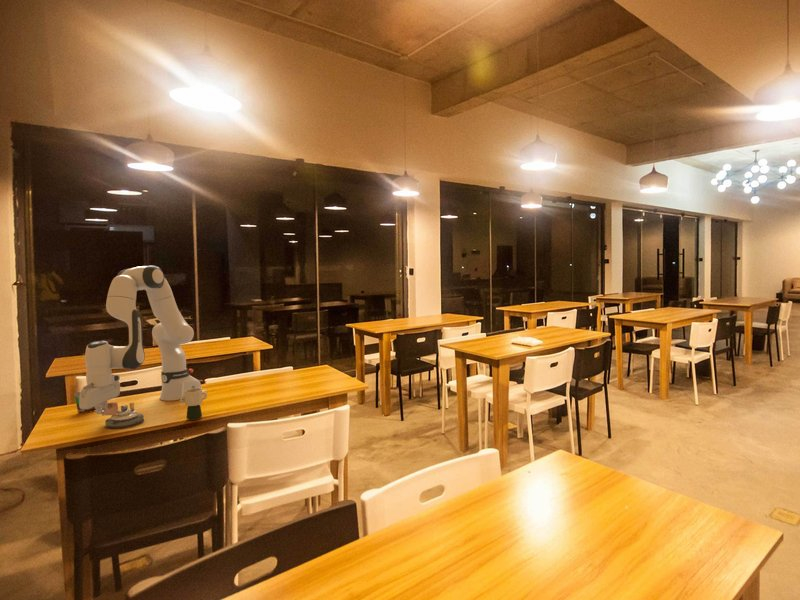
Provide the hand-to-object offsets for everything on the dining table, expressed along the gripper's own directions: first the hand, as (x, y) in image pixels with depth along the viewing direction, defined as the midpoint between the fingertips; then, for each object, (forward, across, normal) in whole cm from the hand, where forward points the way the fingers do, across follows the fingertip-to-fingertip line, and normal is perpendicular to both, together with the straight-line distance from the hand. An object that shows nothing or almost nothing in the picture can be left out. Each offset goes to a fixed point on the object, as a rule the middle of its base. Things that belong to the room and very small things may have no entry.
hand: (101, 413), depth 184 cm
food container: (+6, +23, +20) cm, 31 cm away
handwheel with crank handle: (+6, +5, -7) cm, 10 cm away
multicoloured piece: (+4, +5, -5) cm, 7 cm away
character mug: (+6, +10, -34) cm, 36 cm away
